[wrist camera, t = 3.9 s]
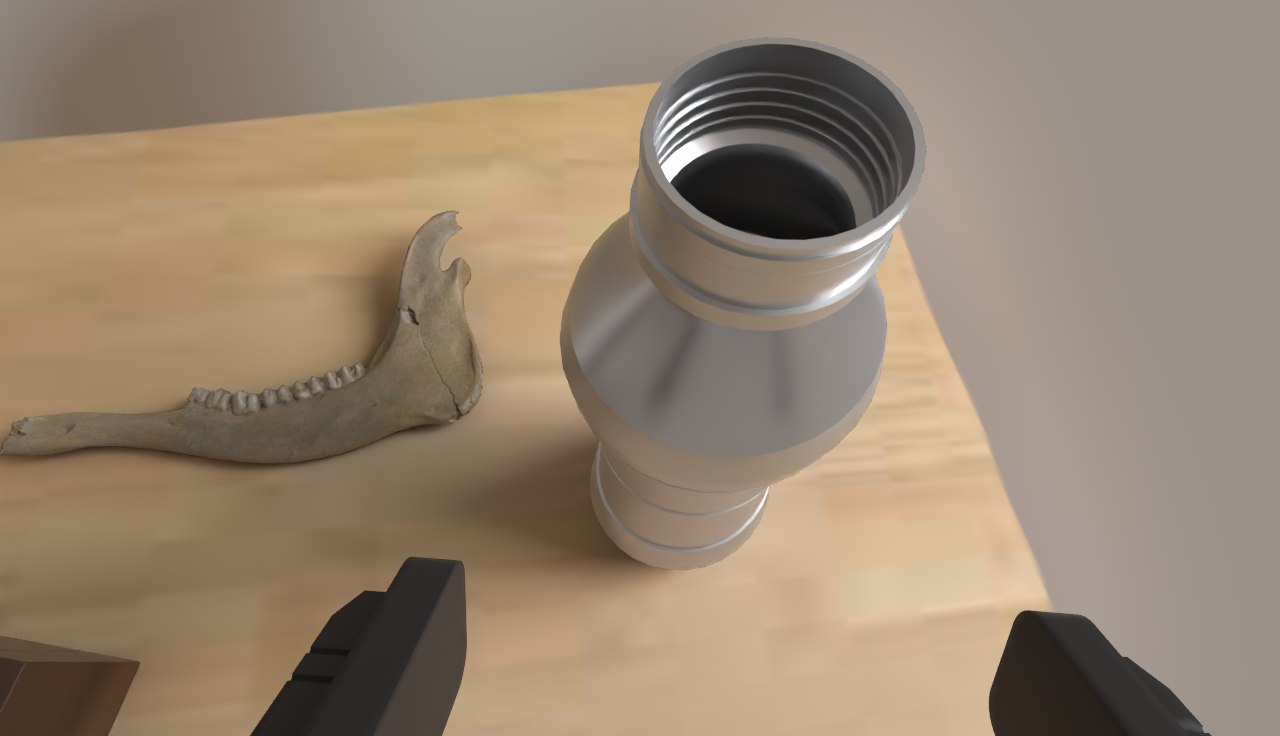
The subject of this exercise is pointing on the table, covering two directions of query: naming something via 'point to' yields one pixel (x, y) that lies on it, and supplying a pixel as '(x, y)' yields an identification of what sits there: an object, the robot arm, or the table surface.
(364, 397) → the jawbone
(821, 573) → the table surface
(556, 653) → the table surface
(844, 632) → the table surface
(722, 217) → the silver metal bottle
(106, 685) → the bottle holder
